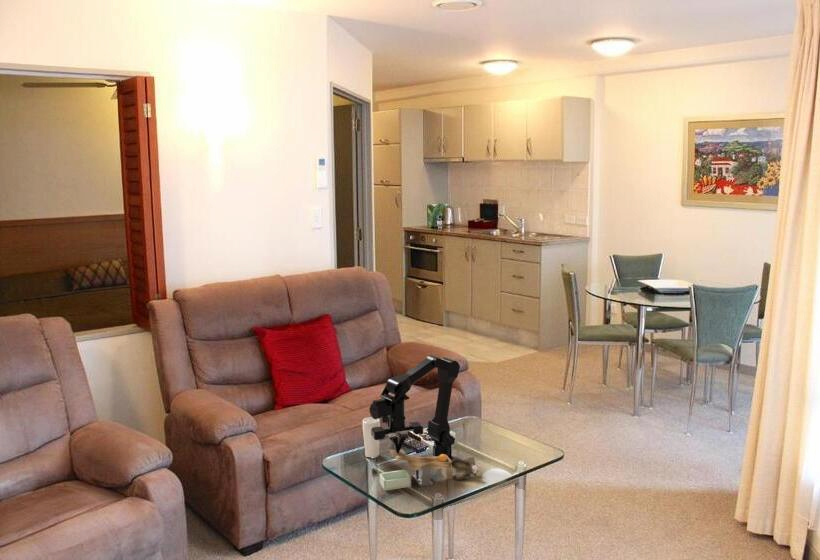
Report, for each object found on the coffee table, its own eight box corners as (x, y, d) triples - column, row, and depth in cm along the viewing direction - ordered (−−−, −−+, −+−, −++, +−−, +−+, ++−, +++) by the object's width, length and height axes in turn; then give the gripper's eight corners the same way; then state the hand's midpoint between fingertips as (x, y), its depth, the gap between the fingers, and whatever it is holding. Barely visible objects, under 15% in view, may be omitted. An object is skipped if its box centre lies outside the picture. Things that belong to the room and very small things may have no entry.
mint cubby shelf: (405, 478, 269) (405, 469, 268) (411, 486, 262) (411, 477, 262) (379, 482, 266) (379, 473, 265) (384, 490, 259) (384, 481, 259)
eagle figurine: (470, 466, 275) (448, 465, 272) (477, 455, 271) (454, 454, 268) (475, 484, 270) (452, 483, 267) (481, 473, 265) (459, 472, 262)
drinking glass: (373, 461, 283) (372, 424, 280) (359, 456, 287) (358, 420, 284) (384, 455, 289) (383, 419, 286) (371, 450, 293) (370, 415, 290)
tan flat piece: (438, 452, 279) (438, 445, 279) (451, 468, 266) (451, 461, 266) (389, 454, 273) (389, 448, 273) (400, 471, 260) (400, 464, 260)
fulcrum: (446, 470, 274) (446, 453, 273) (454, 481, 266) (454, 463, 265) (412, 475, 271) (412, 458, 269) (420, 486, 262) (419, 468, 261)
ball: (444, 460, 270) (445, 452, 270) (447, 464, 267) (448, 456, 267) (436, 460, 269) (437, 452, 269) (439, 464, 266) (440, 456, 266)
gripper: (414, 402, 279) (414, 440, 282) (366, 408, 273) (367, 447, 276) (423, 412, 268) (424, 452, 271) (374, 418, 263) (375, 459, 266)
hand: (397, 452), depth 271 cm, fingers closed, pressing on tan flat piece
